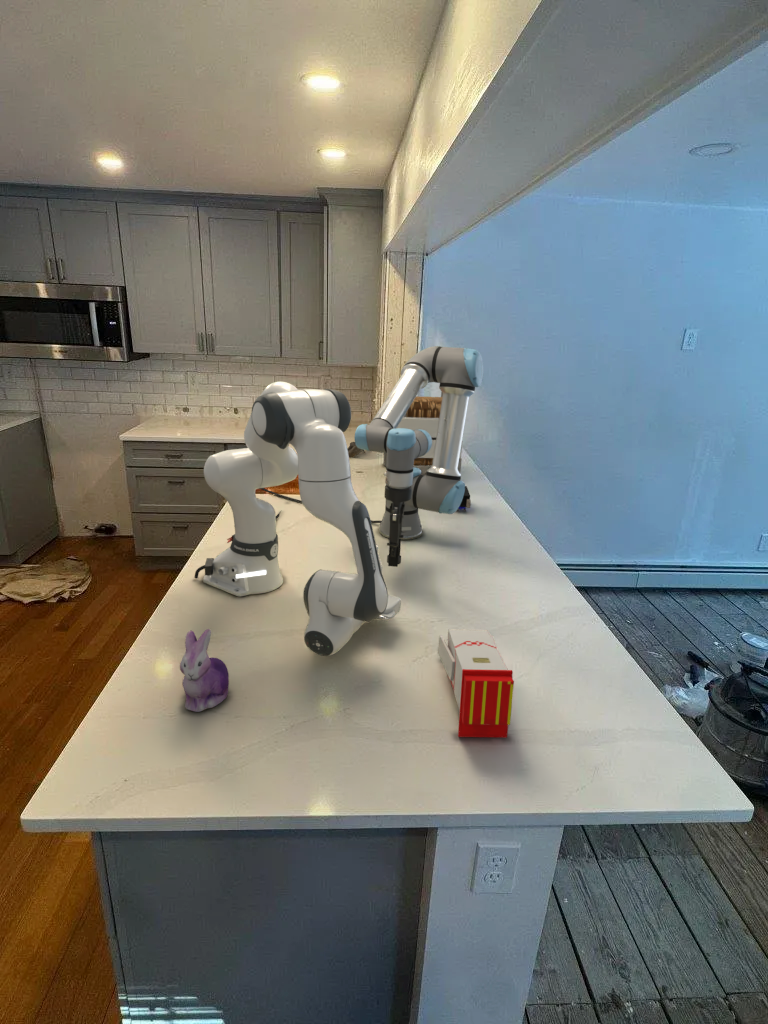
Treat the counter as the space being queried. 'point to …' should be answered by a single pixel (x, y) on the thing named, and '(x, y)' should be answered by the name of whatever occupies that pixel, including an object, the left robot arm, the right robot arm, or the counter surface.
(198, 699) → the figurine
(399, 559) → the cap
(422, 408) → the gray slatted crate
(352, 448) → the fossil
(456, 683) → the toy
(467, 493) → the figurine character
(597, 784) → the counter surface
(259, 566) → the left robot arm
